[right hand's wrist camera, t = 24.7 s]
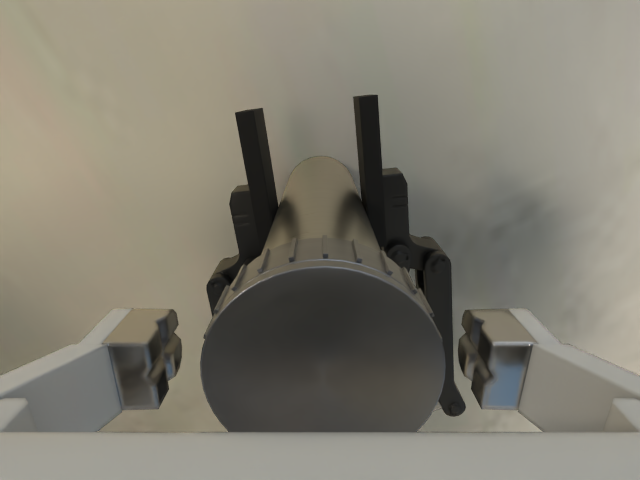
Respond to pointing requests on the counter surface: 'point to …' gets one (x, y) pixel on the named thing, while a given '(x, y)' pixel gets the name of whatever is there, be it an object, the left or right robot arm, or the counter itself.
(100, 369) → the right robot arm
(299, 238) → the jar
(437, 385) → the lid
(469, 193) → the counter surface
